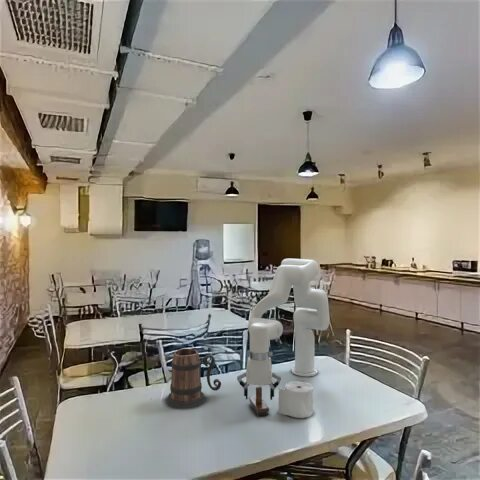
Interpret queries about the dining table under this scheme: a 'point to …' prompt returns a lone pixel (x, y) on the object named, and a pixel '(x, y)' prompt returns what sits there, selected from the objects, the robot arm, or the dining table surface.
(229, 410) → the dining table surface
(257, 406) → the brush
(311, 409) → the toilet tissue
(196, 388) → the tankard
